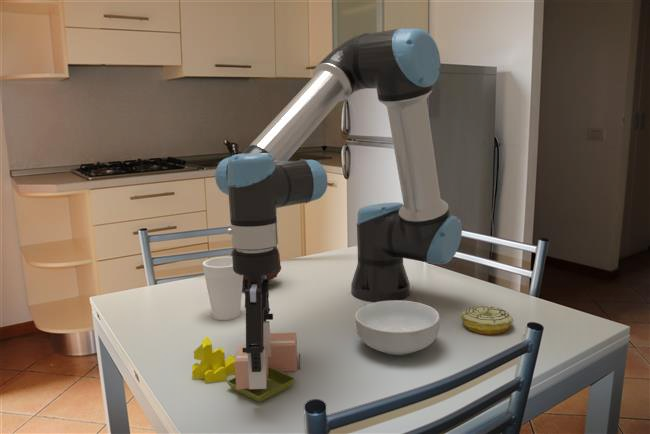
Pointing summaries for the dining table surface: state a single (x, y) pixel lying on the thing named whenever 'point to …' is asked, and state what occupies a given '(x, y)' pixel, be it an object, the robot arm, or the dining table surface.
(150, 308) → the dining table surface
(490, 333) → the decorated donut
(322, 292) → the dining table surface
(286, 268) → the dining table surface
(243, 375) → the pink box
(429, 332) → the cereal bowl
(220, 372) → the yellow faceted figurine
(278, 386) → the green square tray
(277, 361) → the pink striped box
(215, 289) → the foam cup
